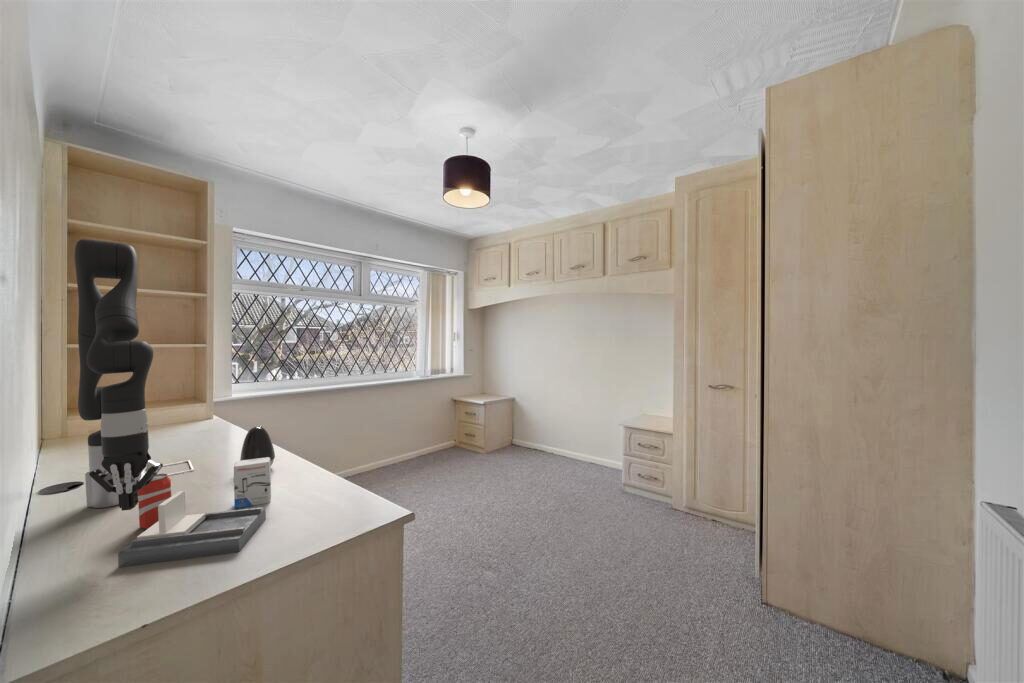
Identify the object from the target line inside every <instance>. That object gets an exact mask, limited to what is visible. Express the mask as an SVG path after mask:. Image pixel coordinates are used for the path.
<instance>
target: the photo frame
mask: <svg viewBox="0 0 1024 683" xmlns="http://www.w3.org/2000/svg"><path fill="white" fill-rule="evenodd" d="M184 463H188V466H189V467H190V469H187V470H183V471H177V472H172V473H167V474H168V475H167V476H168V477H170V476H175V475H180V474H185V473H186V474H187V473H190V472H194V471H195V468H194V466H193V464H192V462H191V460H190V459H188V460H187V459H186V460H181V461H177V462H172V463H166V464H163V466H162V468H165V467H169V466H175V465H180V464H184ZM145 470H146V467H145V468H144V470H143V471H142V472H141V478H142V477H143V476H144V475H145V474H146V471H145ZM141 478H140V480H141Z"/></svg>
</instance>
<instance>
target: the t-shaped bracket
mask: <svg viewBox="0 0 1024 683" xmlns="http://www.w3.org/2000/svg"><path fill="white" fill-rule="evenodd" d="M205 513H206V512H205ZM205 513H204V514H203V513H195V515H194V514H187V507H186V491H185V490H181V491H180V490H179V491H177V492H175V493H174V494H173V495H171V497H170V498H168V499H167V500H165V501H164V502H163V503H161V504H160V505H158V517H159V521H158V522H156V523H155V524H154V525H152V526H151V527H150V528H148V529H146V530H145V531H143V532H141V533H140V534H139V535H138V536H136V539H143V538H152V537H161V536H169V535H178V534H187V533H190V532H191V531H192V530H193V529H194V528H195V527H196V526H198V525H199V524H200V523H201V522H202V521H203V520H204V519H205V518H206V515H205Z"/></svg>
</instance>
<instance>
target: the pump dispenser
mask: <svg viewBox="0 0 1024 683" xmlns="http://www.w3.org/2000/svg"><path fill="white" fill-rule="evenodd" d="M275 453H276V452H275V448H274V444H273V442H272V438H271V437H270V435H269V433H268V431H267V430H266V429H265V428H264V427H263V426H262V425H260V426H253V427H252V428H250V429H249V431H247V433H246V435H245V437H244V440H243V443H242V447H241V452H240V458H239V461H242V460H250V459H258V458H266V457H269V458H270V467H272V465H273V463H274V460H275V458H276V454H275Z"/></svg>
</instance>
